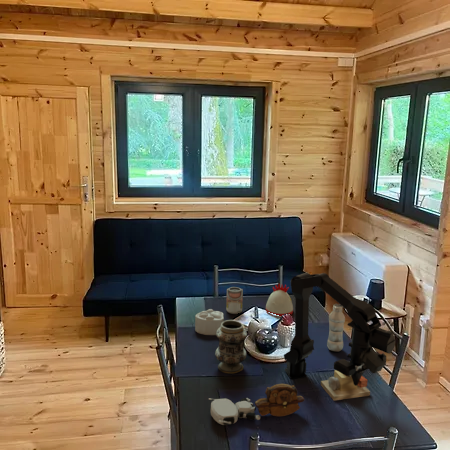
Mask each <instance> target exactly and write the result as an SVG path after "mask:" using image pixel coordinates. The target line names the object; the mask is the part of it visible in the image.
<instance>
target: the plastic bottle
mask: <svg viewBox="0 0 450 450" xmlns="http://www.w3.org/2000/svg"><path fill="white" fill-rule="evenodd" d="M343 308H344V307H343V306H341V305H340V304H339V303H335V304H333V307H332V311H331V312H330V314H329V316H328V323H329V324H328V325H329V330H328V331H329V332H328V338H327V341H326V346H327V348H328V350H329V351H331V352H336V353H337V352H341V351H342V350H343V348H344V340H343V332H344V325H345V322H346V317H345V314H344V313H343Z"/></svg>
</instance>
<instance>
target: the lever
mask: <svg viewBox="0 0 450 450" xmlns="http://www.w3.org/2000/svg"><path fill="white" fill-rule="evenodd" d="M350 377H351V375H350ZM358 386H359V387H360V388H363V387H366V388H367V387H368V379H367V378H365V376H363V375H362V376H361V378H360V380H359V382H358Z"/></svg>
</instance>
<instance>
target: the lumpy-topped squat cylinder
mask: <svg viewBox="0 0 450 450" xmlns="http://www.w3.org/2000/svg"><path fill="white" fill-rule="evenodd" d="M224 317H225V316H224V313H223V312H222V311H219V310H214V309H212V308H209V309H207V310H202V311H200V312H198V313H196V314H195V319H194V320H195V321H194V322H195V323H194V324H195V326H194V328H195V329H194V330H195V332H197V333H198V334H201V335H205V336H217V335H216V332H217V330H218V329H219V328H220V327H221V323H222V322H224V321H225V318H224Z"/></svg>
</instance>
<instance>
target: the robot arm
mask: <svg viewBox="0 0 450 450" xmlns="http://www.w3.org/2000/svg"><path fill="white" fill-rule="evenodd" d="M314 287H318V288H320V289H321V290H322V291H323V292H324V293H326V294H327V295H328V296H329V297H330V298H331V299H333V300H334V301H336V302H337V304H340V305H341V306H343V308H344V309H345V312H346V314H347V316H348V317H349V318H350V319H351V321H350V322H348V323H347V326H348V327H351V328H352V337H351V341H350V342H348V347H350V353H348V354H347V356H346V357H347V358H348V359H350V360H346V359H345V358H340V359H338V360H336V361H334V362H333V370H337V371H339V372H340V373H342V374H344V375H346V376H350V375H351V377H352V380H353V383H354V385H355V386H357V385H358V382H359V380H360V378H361V376H363V374H364V373H365V372H366V371H367V370H369V372H370V373H371V374H377V373H378V372H381V371H382V370H383V368H384V367H385V366H387V355H386V354H391V353H392V352H393V351H394V349H395V347H396V338H395V336H394V332H393V331H391V330H386V329H384V328H381V327H382V323H381V320H380V319H379V318H378V315H377V313H376V308H375V307H374V306H373V305H372V304H370V303H368V302H367V301H365V300H363V299H359V298H356V297H355V296H353V295H352V294H351V293H349V292H348V291H347V290H346V289H345V288H343V287H342V286H341V285H339V284H338V283H337V282H336V281H334V280H333V279H332V278H331V277H330V276H329V275H328V274H327V273H326V272H322V273H314V274H311V273H308V272H304V273H300V274H297V275H296V276H293V277H292V278H291V279H290V289H291V294H292V295H293V297H294V298H295V299H294V302H295V303H294V308H295V309H294V336H293V338H292V340H291V342H290V347H289V351H287V352H286V353H284V354H283V358H284V361H286V368H285V369H284V371H285V373H286V374H287V376H288V377H289V379H291V380H293V379H298V378H299V379H300V378H306V377H307V374H306V372H307V362H306V359H307V358H308V357H309V356H310V355H311V354H312V353H313V351H315V347H314V344H315V340H314V339H311V337H310V336H309V319H310V318H309V313H310V311H309V309H310V305H309V304H310V297H311V294H312V293H313V291H314ZM370 322H372V323H370ZM368 323H370V324H368ZM374 349H376V350H379V351H381V352H382V353H380V352H378V351H375V350H374ZM383 352H384V353H383ZM385 353H386V354H385Z"/></svg>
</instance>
